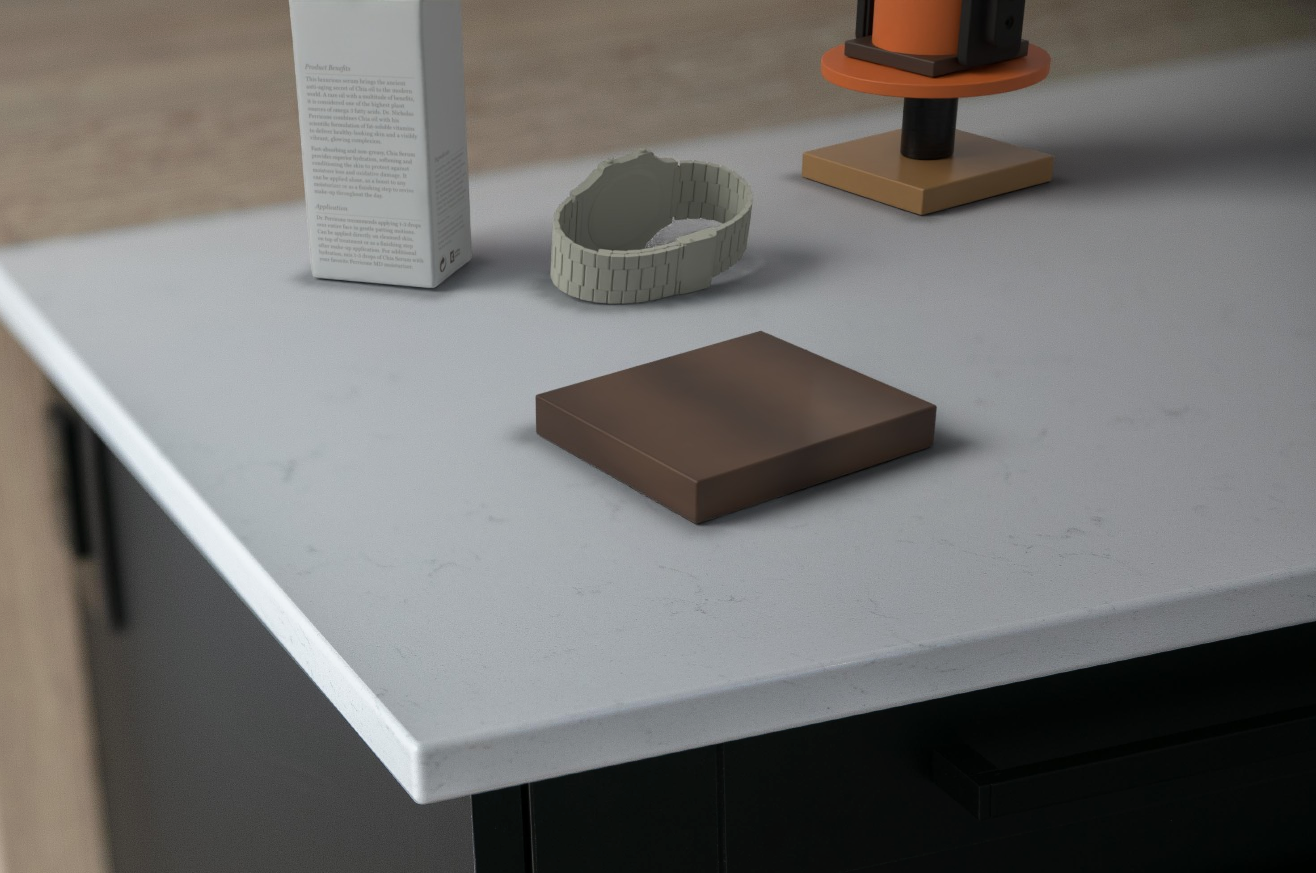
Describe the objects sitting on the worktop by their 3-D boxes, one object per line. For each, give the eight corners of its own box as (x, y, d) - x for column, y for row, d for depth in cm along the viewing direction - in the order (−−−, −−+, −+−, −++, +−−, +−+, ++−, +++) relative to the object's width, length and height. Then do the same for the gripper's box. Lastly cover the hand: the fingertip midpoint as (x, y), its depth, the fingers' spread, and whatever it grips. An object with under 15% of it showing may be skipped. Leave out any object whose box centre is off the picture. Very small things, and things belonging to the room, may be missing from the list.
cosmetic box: (474, 260, 85) (465, -25, 79) (434, 292, 82) (422, -3, 76) (350, 248, 88) (332, -29, 82) (306, 279, 84) (284, -8, 78)
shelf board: (759, 367, 72) (761, 329, 72) (934, 446, 65) (938, 405, 65) (534, 434, 68) (534, 394, 68) (695, 525, 61) (697, 482, 61)
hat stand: (927, 145, 96) (936, 42, 93) (1052, 181, 90) (1065, 71, 87) (800, 177, 93) (806, 70, 90) (921, 216, 86) (930, 102, 84)
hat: (936, 35, 95) (947, -98, 92) (1098, 71, 87) (1116, -73, 84) (775, 70, 91) (781, -68, 88) (930, 111, 83) (942, -38, 80)
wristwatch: (697, 237, 86) (700, 124, 83) (788, 275, 81) (793, 155, 78) (519, 280, 82) (516, 162, 80) (602, 322, 77) (602, 198, 75)
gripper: (1212, -413, 74) (1146, 68, 83) (893, -407, 88) (866, 8, 96) (1069, -399, 71) (1017, 99, 80) (762, -394, 85) (746, 32, 93)
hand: (935, 45), depth 88 cm, fingers closed on hat, 5 cm apart
